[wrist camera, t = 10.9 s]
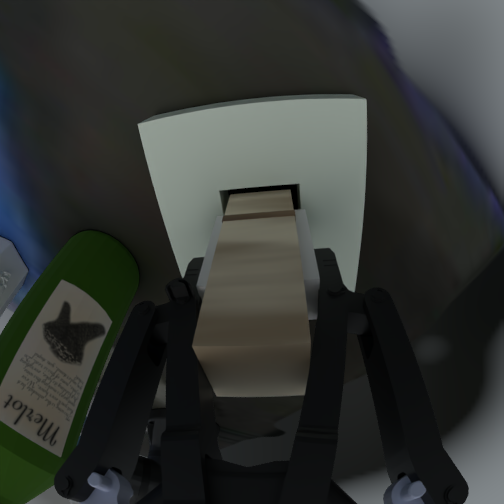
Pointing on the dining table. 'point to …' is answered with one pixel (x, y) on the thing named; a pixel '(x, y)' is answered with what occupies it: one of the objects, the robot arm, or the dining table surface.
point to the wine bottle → (58, 358)
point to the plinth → (262, 167)
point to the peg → (255, 302)
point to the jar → (10, 273)
